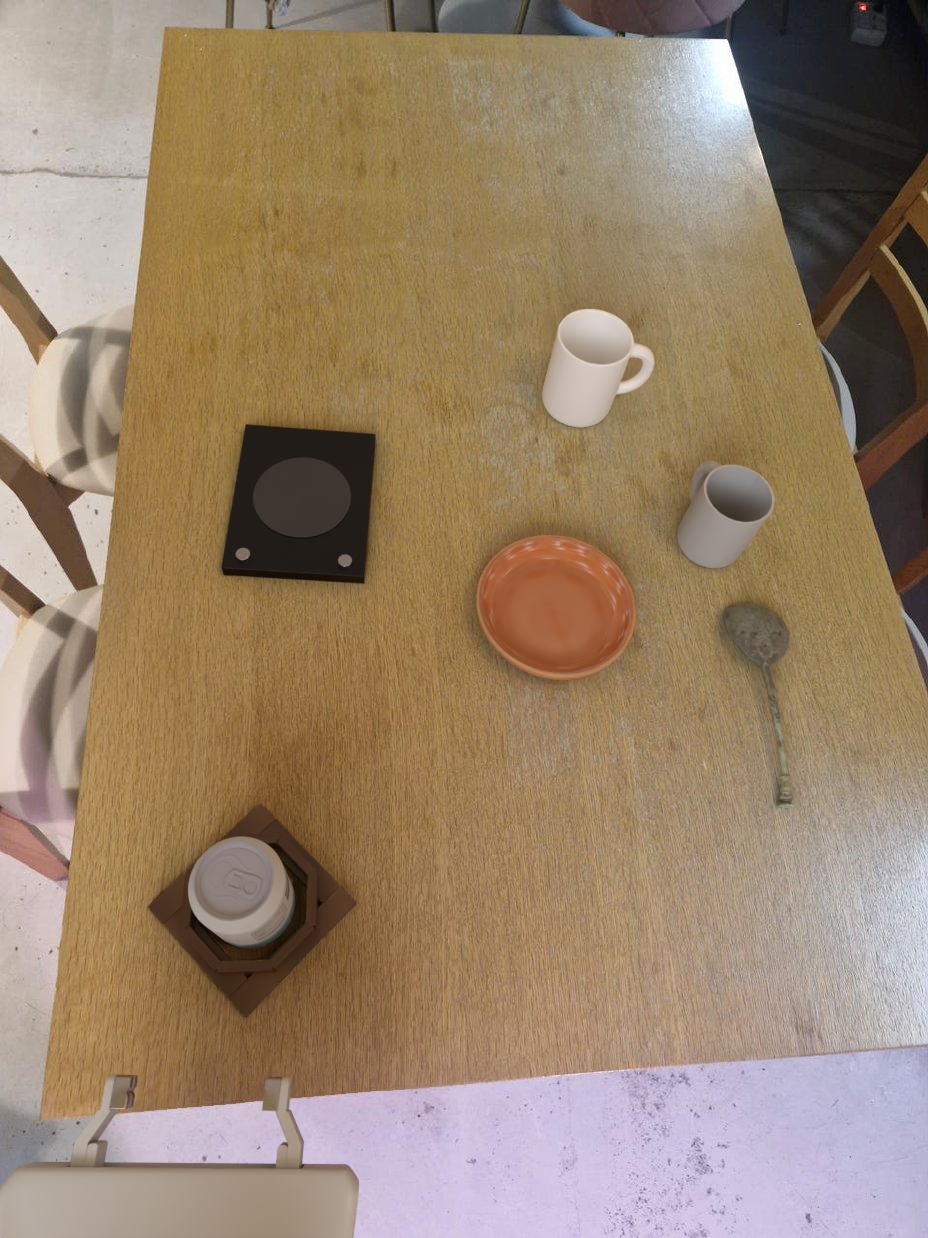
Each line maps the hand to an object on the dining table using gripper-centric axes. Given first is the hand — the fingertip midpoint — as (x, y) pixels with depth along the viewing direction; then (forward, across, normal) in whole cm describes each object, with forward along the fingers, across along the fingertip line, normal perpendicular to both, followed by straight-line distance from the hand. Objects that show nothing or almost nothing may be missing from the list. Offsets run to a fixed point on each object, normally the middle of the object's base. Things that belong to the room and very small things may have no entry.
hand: (201, 1076), depth 52 cm
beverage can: (+12, 0, +15) cm, 19 cm away
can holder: (+12, 0, +15) cm, 19 cm away
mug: (+70, -31, +15) cm, 78 cm away
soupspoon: (+33, -47, +15) cm, 59 cm away
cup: (+53, -43, +15) cm, 70 cm away
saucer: (+41, -26, +15) cm, 51 cm away
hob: (+53, 0, +15) cm, 55 cm away
